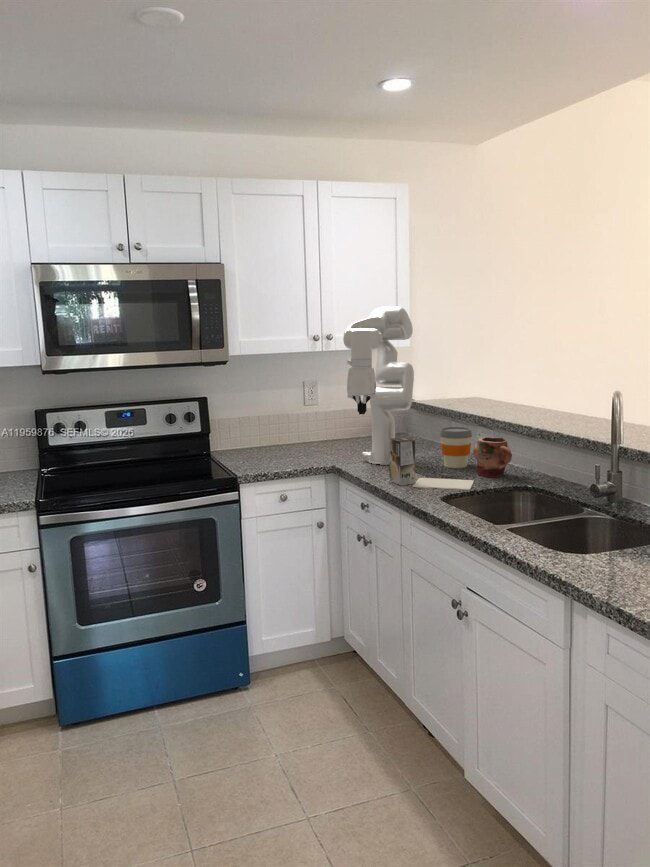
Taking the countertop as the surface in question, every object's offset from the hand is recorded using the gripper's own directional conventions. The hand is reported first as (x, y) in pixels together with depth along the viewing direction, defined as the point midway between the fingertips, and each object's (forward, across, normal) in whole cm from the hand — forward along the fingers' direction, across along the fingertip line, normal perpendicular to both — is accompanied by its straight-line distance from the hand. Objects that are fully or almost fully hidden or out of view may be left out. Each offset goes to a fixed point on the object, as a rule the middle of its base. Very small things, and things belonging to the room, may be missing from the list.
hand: (362, 413), depth 261 cm
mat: (+25, +30, 0) cm, 39 cm away
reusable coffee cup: (+25, +30, +34) cm, 52 cm away
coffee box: (+25, +15, 0) cm, 29 cm away
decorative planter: (+25, +46, +19) cm, 56 cm away
